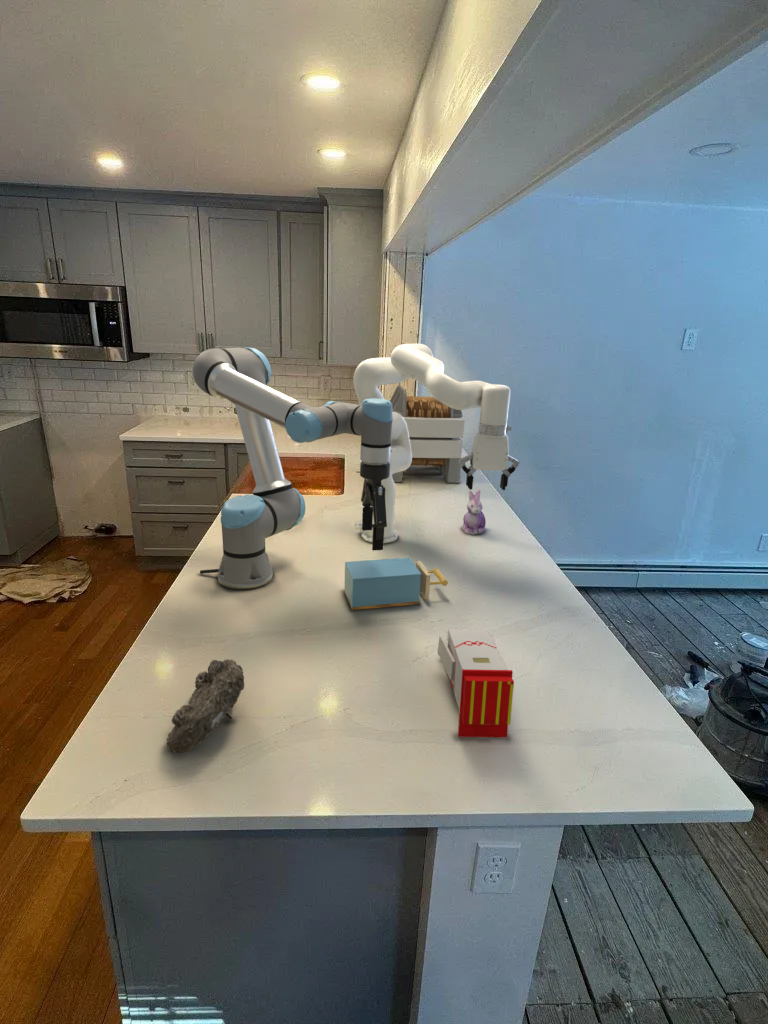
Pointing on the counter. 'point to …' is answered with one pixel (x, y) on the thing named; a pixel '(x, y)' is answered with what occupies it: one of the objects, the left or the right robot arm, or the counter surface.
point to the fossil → (206, 705)
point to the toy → (478, 682)
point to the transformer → (431, 433)
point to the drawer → (428, 579)
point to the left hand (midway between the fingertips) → (372, 539)
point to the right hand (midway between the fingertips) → (486, 488)
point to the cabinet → (381, 583)
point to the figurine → (474, 515)
